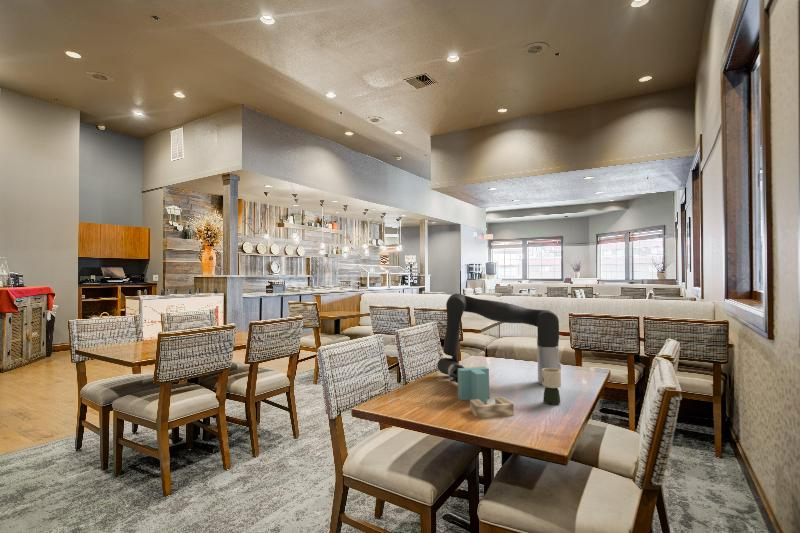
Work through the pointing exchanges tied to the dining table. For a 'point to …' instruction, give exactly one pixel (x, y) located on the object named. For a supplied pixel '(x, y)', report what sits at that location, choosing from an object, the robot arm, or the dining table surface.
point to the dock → (492, 408)
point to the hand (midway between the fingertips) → (469, 382)
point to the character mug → (551, 385)
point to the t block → (473, 383)
